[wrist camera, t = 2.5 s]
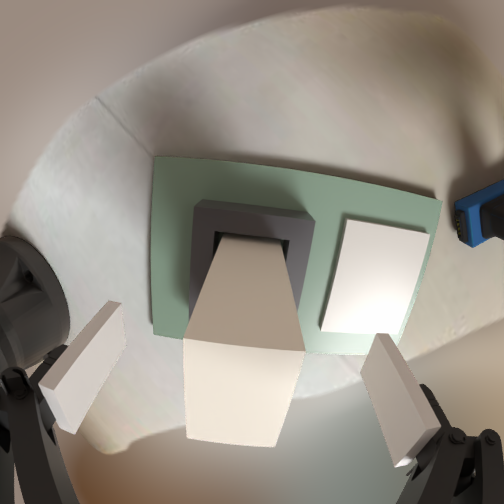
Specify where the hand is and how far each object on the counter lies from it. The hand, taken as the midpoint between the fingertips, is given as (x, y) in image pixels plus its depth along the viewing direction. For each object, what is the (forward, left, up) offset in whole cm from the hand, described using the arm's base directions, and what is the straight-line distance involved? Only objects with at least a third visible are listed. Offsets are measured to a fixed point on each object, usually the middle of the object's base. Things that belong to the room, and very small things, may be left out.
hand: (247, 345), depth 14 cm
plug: (0, 0, -10) cm, 10 cm away
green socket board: (+4, 0, -11) cm, 12 cm away
